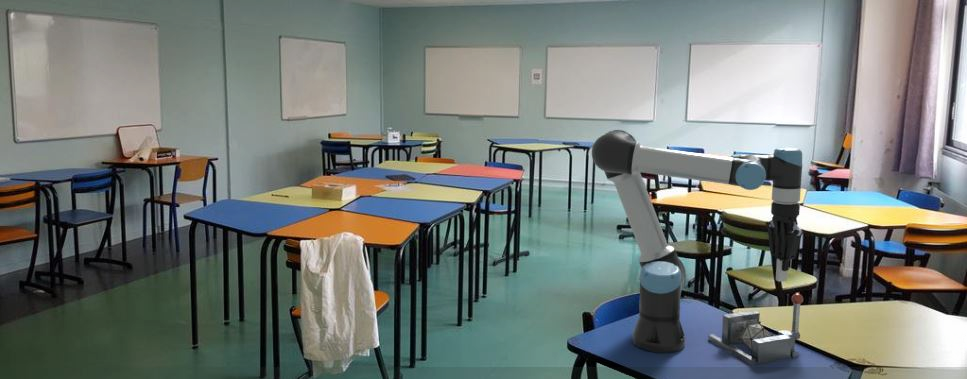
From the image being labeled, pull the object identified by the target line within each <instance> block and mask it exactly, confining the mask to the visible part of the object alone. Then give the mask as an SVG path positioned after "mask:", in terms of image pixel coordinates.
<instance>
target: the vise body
mask: <svg viewBox="0 0 967 379" xmlns="http://www.w3.org/2000/svg"><path fill="white" fill-rule="evenodd" d="M707 340H708V341H710V342H712V343H713V344H715V345H717V346H719V347H720V348H722V349H723V350H725V351H727V352H728V353H730V354H732V355H733V356H735V357H737V358H739V359H741V360H742V361H744V363H746V364H749V365H752V366H753V365H757V364H764V362H765V363H770V362H774V361H775V362H776V361H780V360H787V359H790V358H797V357H798V352H797V351H796V350H795V344H796V340H795V334H794V333H792V332H791V331H790V330H787V329H784V330H777V335H774V336H771V337H767V338H761V339H755V340H753V344H752V350H751V351H752V353H751V355H750V354H748V353H746V352H745V351H742V350H741V349H739V348H737V347H736V346H734V345H733V344H729V343H727V342H725V341H724V340H722V338H720V337H718V336H717V335H715V334H713V333H712V334H708V338H707Z"/></svg>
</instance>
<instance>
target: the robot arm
mask: <svg viewBox="0 0 967 379" xmlns="http://www.w3.org/2000/svg"><path fill="white" fill-rule="evenodd" d="M591 158H592V161H593V163H594V165H595V166H596V167H597V168H598V169H599V170H601V171H603V172H604V174H605V177H606V180H607V181H611V183H613V184H614V187H615V189H616V191H617V195H618V197H619V199H620V202H621V204H622V207H623V210H624V212H625V216H626V217H627V220H628V223H629V225H630V228H631V231H632V233H633V235H634V238H635V240H636V244H637V246H638V248H639V251H640V255H639V257H638V262H639V263H638V264H639V265H640V274H639V277H638V278H639V304H638V305H639V306H638V308H639V309H638V311H639V313H638V319H637V322H636V324H635V326H634V330H633V332H632V343H633V342H634V343H635V344H636V345H637V346H639V347H641V348H643V349H642V350H644V349H646V350H645V351H647V350H649V351H648V352H653V353H662V354H663V353H675V352H679V351H681V350H682V349H684V348H685V346H686V337H685V333H684V329H683V326H682V322H681V319H680V318H681V317H680V316H681V315H680V314H681V294H682V289H683V287H684V283H685V281H686V272H687V271H686V268H685V265H684V263H683V261H682V260H681V259H680V257H679V256H678V253H677V251H676V249H675V247H674V246H672V245H670V244H668V241H667V238H666V237H665V234H664V232H663V229H662V226H661V223H660V221H659V218H658V216H657V213H656V211H655V208H654V206H653V203H652V200H651V196H650V195H649V194H650V193H649V192H648V189H647V186H646V184H645V182H644V179H643V176H642V174H643V173H645V174H651V175H657V176H666V177H671V178H673V177H674V178H681V179H686V180H692V181H693V180H694V181H701V182H708V183H715V184H724V185H729V186H734V187H735V186H736V187H740V188H742V189H744V190H748V191H754V190H757V189H759V188H760V187H761V186H762V185H763V184H764V183H765V181H766V182H772V187H771V188H772V189H771V190H772V191H771V201H772V202H771V204H770V205H771V207H770V213H771V215H773V216H772V217H771V220H769V221H765V226H766V228H767V236H768V243H769V244H768V245H769V251H770V255H773V256H774V258H775V270H776V272H775V281H777V282H787V281H788V271H789V269H790V260H795V259H796V257H797V253H798V249H799V245H800V243H801V242H800V241H801V238H802V236H803V234H804V233H805V230H804V229H803V228H800V226H798V224H799V223H798V220H797V218H798V217H799V216H800V209H801V207H800V206H801V203H800V201H801V190H802V188H801V187H802V177H803V176H802V175H803V152H802V150H801V149H799V148H795V147H776V148H775V149H774V151H773V153H772V154H768V155H767V154H746V153H745V154H744V153H741V154H731V155H730V157H728V156H720V155H715V154H714V155H713V154H707V153H705V154H704V153H700V152H699V153H698V152H691V151H684V150H683V151H682V150H676V149H675V150H674V149H668V148H660V147H653V146H652V147H651V146H643V145H641V143H640V142H639V141H637V140H636V138H635V136H633V134H631V133H630V132H628V131H626V130H622V129H614V130H610V131H608V132H606V133H605V134H603V135H600V137H598V138H596V140H595V141H594V143H593V146H592V148H591ZM641 173H642V174H641ZM634 343H633V344H634ZM635 344H634V345H635ZM636 345H635V346H636ZM637 346H636V347H637ZM639 347H638V348H639ZM641 348H640V349H641Z"/></svg>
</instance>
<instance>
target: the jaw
mask: <svg viewBox="0 0 967 379" xmlns="http://www.w3.org/2000/svg"><path fill="white" fill-rule="evenodd" d="M760 315H761V314H760V312H758V311H757V310H746V311H745V310H744V311H740V312H732V313H727V314H722V325H721V326H722V327H721V339H722V340H724V341H725V342H727V343H729V344H731V345H735V344H742V343H744V342H743V341H742V340H738V339H739V338H742V335H743V333H744V331H745V329H744V328H746V327H747V326H746V324H747V325H748V326H749V325H755V324H759V322H760Z"/></svg>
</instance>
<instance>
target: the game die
mask: <svg viewBox="0 0 967 379" xmlns="http://www.w3.org/2000/svg"><path fill="white" fill-rule="evenodd" d="M761 323H762V321H760V320H759V324H755V325H749V326H748V325H747V324H746V326H747V327H746V328H744V329H745V331H744V333H743V335H742V338H739V339H738V340H742V341H743V343H744V344H745V345H746V346H747V347H748V348H749V349H750V350H751V351H750V353H751V354H752V344H753V340H755V339H761V338H767V337H773V336H775V334H771V332H768V330H766V328H765V327H764V326H763V325H761Z"/></svg>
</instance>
